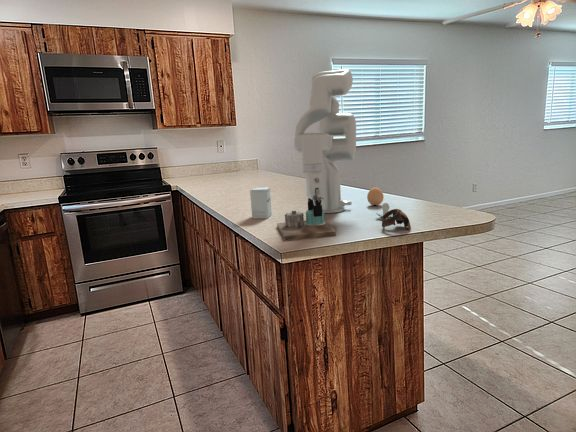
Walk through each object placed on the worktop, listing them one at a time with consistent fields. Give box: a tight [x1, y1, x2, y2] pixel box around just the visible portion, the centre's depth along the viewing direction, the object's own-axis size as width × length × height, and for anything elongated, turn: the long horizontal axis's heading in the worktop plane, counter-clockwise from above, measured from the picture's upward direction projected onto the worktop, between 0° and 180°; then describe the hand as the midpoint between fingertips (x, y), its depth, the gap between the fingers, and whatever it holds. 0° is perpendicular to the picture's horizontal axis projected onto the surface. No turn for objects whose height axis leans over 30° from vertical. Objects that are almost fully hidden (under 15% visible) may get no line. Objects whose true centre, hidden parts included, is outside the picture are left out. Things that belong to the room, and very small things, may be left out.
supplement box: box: [249, 186, 273, 219], centre depth 172 cm, size 7×7×13 cm
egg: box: [366, 186, 384, 206], centre depth 182 cm, size 7×7×8 cm
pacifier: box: [375, 202, 393, 221], centre depth 156 cm, size 7×6×6 cm
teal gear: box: [305, 209, 326, 225], centre depth 149 cm, size 7×7×4 cm
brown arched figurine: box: [380, 208, 412, 231], centre depth 142 cm, size 12×10×8 cm
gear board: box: [276, 210, 337, 242], centre depth 145 cm, size 18×20×7 cm
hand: (315, 213), depth 149 cm, fingers open, 9 cm apart
